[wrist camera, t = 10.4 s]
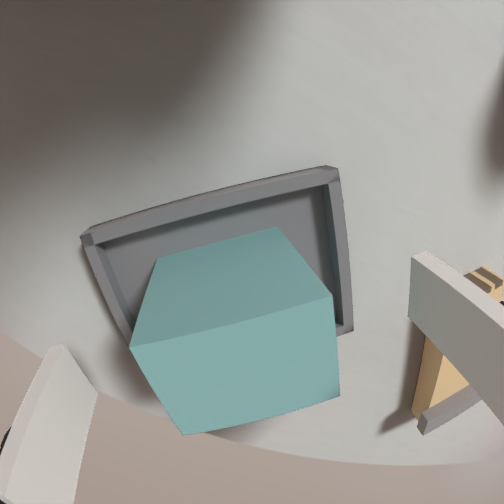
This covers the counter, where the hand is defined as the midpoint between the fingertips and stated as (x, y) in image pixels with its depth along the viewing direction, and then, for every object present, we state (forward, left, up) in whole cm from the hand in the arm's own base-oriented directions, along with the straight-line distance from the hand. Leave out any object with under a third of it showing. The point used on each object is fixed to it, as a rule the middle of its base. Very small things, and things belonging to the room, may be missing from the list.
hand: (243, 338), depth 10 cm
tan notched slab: (+13, +16, -6) cm, 21 cm away
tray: (+1, 0, -6) cm, 6 cm away
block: (+1, 0, -6) cm, 6 cm away
